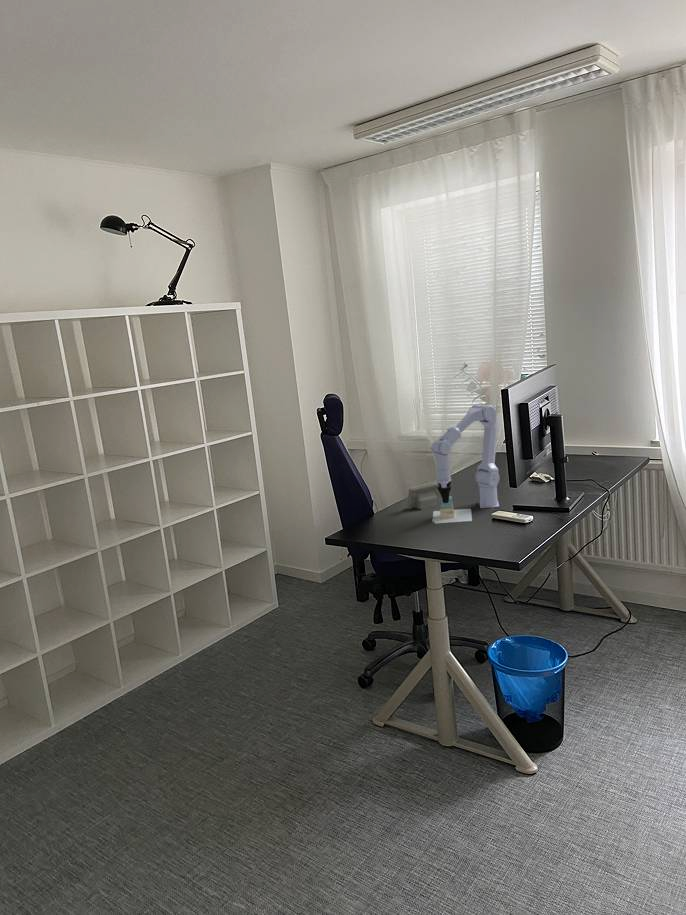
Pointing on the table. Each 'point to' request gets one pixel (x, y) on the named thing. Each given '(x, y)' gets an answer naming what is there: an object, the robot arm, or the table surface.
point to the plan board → (459, 516)
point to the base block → (446, 513)
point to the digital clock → (423, 496)
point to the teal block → (446, 505)
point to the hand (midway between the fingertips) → (445, 500)
